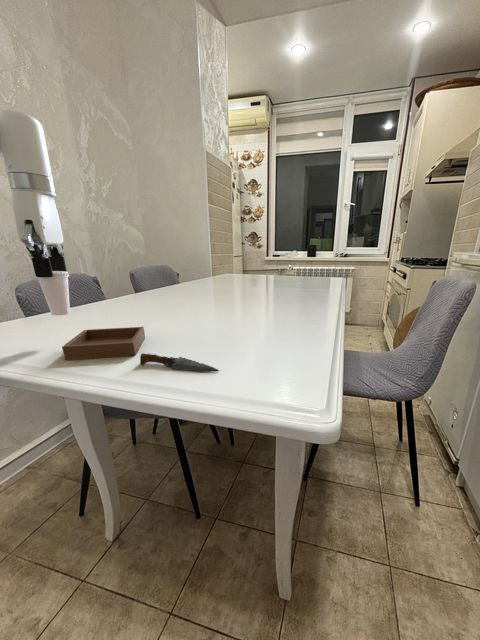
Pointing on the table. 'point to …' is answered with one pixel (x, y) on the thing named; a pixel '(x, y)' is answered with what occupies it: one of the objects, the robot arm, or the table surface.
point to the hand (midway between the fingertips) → (52, 274)
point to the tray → (104, 343)
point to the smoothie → (56, 292)
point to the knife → (176, 363)
